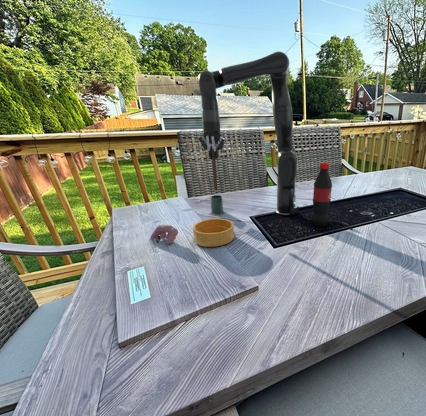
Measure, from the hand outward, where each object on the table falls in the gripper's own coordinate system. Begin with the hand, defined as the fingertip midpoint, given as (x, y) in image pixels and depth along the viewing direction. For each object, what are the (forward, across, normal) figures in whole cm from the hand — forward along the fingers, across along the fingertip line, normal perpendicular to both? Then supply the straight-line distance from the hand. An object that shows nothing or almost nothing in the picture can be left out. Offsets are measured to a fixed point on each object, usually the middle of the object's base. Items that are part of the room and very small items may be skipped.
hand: (213, 158), depth 124 cm
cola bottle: (+28, -53, -2) cm, 60 cm away
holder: (+28, 0, 0) cm, 28 cm away
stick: (+15, 0, 0) cm, 15 cm away
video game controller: (+28, +5, +33) cm, 43 cm away
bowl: (+28, -13, +26) cm, 41 cm away
